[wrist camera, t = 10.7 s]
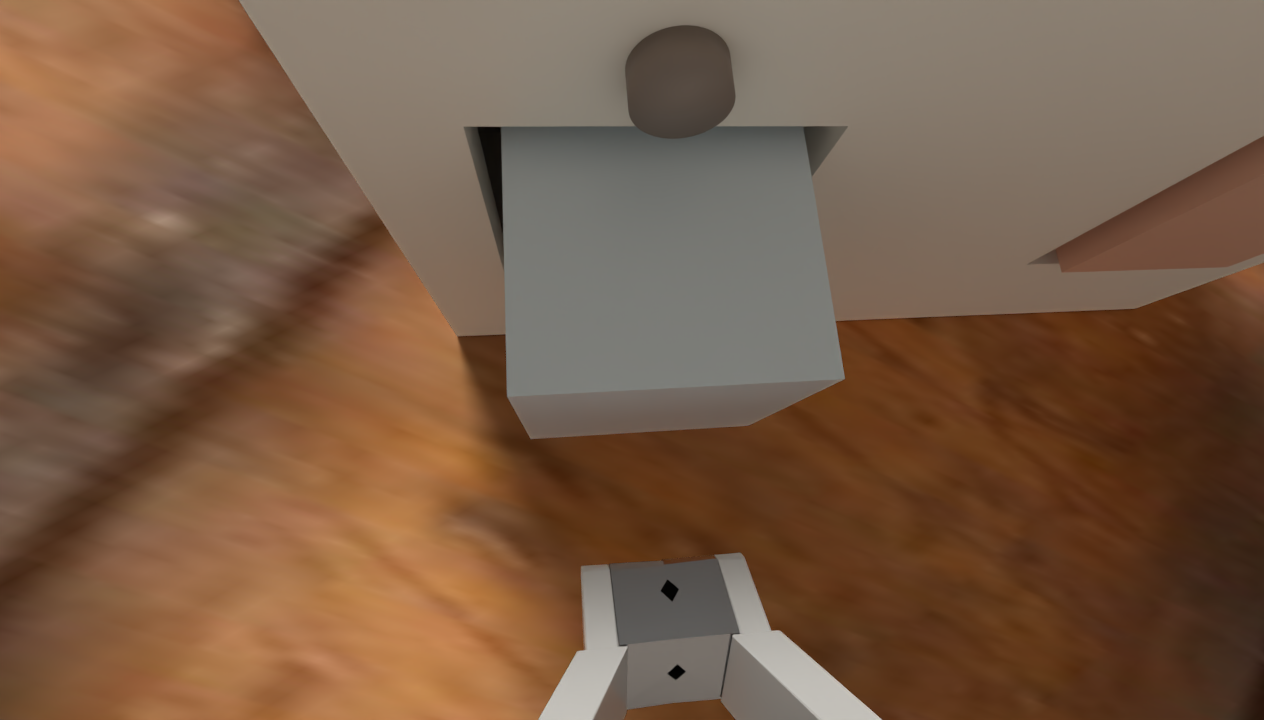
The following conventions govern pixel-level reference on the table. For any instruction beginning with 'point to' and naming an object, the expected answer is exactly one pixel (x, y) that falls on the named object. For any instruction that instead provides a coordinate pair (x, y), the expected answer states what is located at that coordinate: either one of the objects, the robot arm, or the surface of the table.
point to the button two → (1183, 223)
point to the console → (801, 124)
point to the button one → (662, 279)
